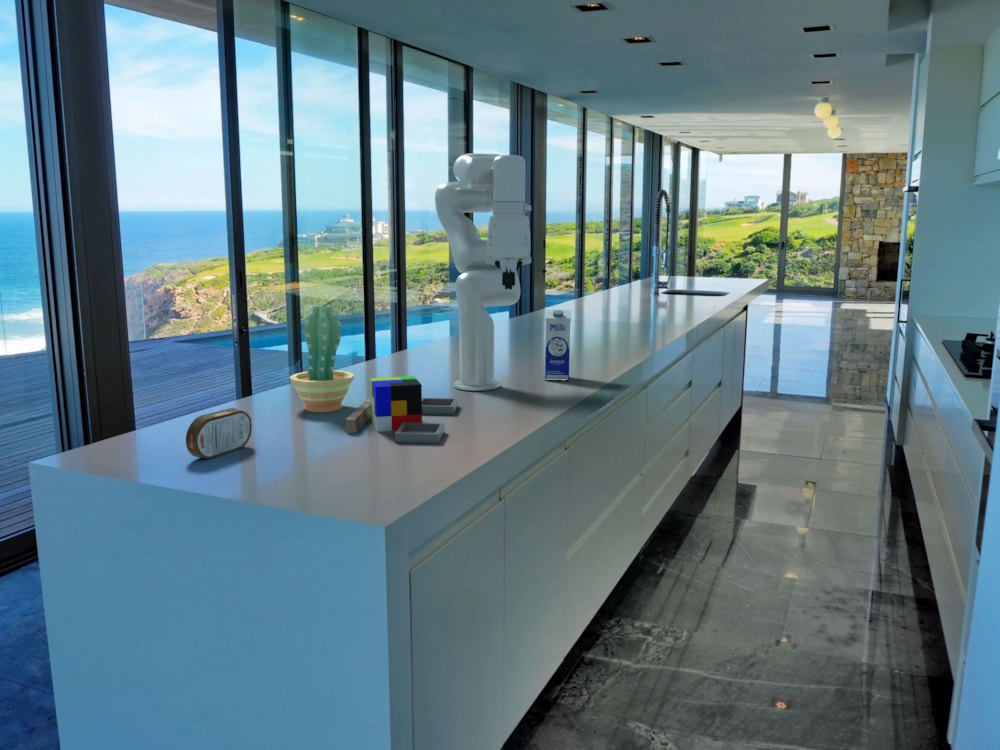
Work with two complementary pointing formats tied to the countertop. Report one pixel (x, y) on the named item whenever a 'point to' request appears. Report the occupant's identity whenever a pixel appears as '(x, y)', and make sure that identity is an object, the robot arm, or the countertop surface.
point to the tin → (218, 433)
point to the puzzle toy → (395, 402)
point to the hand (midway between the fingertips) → (508, 288)
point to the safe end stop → (358, 417)
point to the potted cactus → (322, 363)
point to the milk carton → (557, 344)
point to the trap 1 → (419, 433)
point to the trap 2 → (439, 406)
